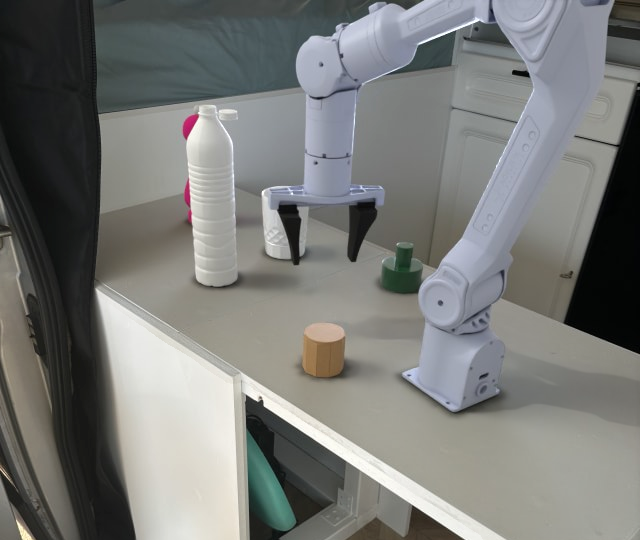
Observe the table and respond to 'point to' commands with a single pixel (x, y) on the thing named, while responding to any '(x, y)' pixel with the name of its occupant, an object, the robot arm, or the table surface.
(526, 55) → the robot arm
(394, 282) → the green stepped peg base
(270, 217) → the white cup
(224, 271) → the water bottle
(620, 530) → the table surface
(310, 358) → the wooden drum
